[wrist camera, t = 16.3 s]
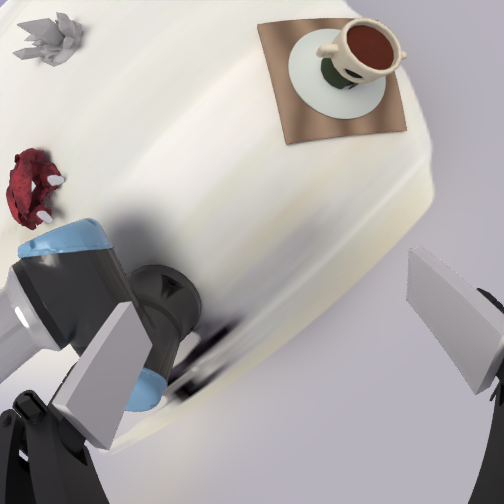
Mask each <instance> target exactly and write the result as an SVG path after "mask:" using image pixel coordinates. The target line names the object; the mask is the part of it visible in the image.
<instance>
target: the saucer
mask: <svg viewBox="0 0 504 504" xmlns="http://www.w3.org/2000/svg"><path fill="white" fill-rule="evenodd" d="M340 31H341V30H337V29H320V30H316V31H313V32H310V33H308V34H306V35H305V36H303V37H302V38H301V39H300V40H299V41H298V42H297V43H296V44H295V46H294V47H293V49H292V51H291V54H290V57H289V61H288V73H289V78H290V81H291V84H292V86H293V88H294V90H295V91H296V93H297V95H298V96H299V97H300V98H301V99H302V100H303V101H304V102H305V103H306V104H307V105H308V106H309V107H311V108H312V109H313V110H315V111H317V112H319V113H321V114H323V115H325V116H328V117H332V118H336V119H352V118H357V117H360V116H363V115H365V114H368V113H369V112H371V111H372V110H373V109H374V108H375V107H376V106H377V105H378V104H379V103H380V101H381V99H382V97H383V95H384V91H385V86H386V78H385V77H381V78H379V79H377V80H375V81H374V82H370V83H363V84H358V85H357V86H355V87H353V88H351V89H348V88H350V87H351V86H352V85H349V86H345V87H344V88H343V89H338V88H336V87H333V86H331V85H330V84H329V83H328V82H327V81H326V80H325V79H324V77H323V74H322V72H321V61H322V59H323V58H320V57H317V55H316V51H317V50H318V48H319V47H320V46H321V45H322V44H332V42H333V40H334V38H335V37H336V36H337V35H338V33H339V32H340Z"/></svg>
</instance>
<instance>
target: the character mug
mask: <svg viewBox="0 0 504 504" xmlns="http://www.w3.org/2000/svg"><path fill="white" fill-rule="evenodd" d="M316 55H317V57H320V58H323V59H322V61H321V72H322V74H323V77H324V79H325V80H326V81H327V82H328V83H329V84H330V85H331V86H333V87H336V88H338V89H343V88H344V87H345V86H349V85H352V86H351V87H350V88H348V89H351V88H353V87H355V86H357V85H358V84H363V83H370V82H374V81H375V80H377V79H379V78H381V77H385V76H386V75H388V74H390V73H392V72H393V71H394V70H396V69H397V68H398V67H399V65H400V63H401V60H403V59H405V58H407V53H406V52H404V51H402V47H401V45H400V43H399V40H398V38H397V37H396V36H395V35H394V33H393V32H392V31H391V30H390V29H389V28H388V27H386V26H385V25H383V24H382V23H380V22H379V21H376V20H373V19H369V18H356V19H354V20H352V21H350V22H349V23H347V24H346V25H345V26H344V27H343V28H342V30H341V31H340V32H339V33H338V35H337V36H336V37H335V38H334V40H333V42H332V44H322V45H321V46H320V47H319V48H318V50H317V51H316Z"/></svg>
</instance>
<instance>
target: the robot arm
mask: <svg viewBox="0 0 504 504" xmlns="http://www.w3.org/2000/svg"><path fill="white" fill-rule="evenodd" d="M113 248H114V247H113V245H112V244H110V242H109V240H108V238H107V236H106V234H105V232H104V230H103V228H102V226H101V225H100V223H99V222H98V221H96V220H94V219H91V218H86V219H82V220H79V221H76V222H73V223H70V224H67V225H65V226H62V227H59V228H57V229H54V230H52V231H50V232H47V233H45V234H43V235H40V236H38V237H37V238H34V239H32V240H30V241H28V242H26V243H24V244H22V245H20V246H19V247H18V257H19V258H21V259H20V260H19V261H18V262H16V263H15V264H14V265H12V266H11V267H10V268H9V272H8V277H7V282H6V284H5V286H4V287H3V288H2V289H0V384H1V382H3V381H4V380H5V379H6V378H7V377H9V376H10V375H11V374H12V373H13V372H14V371H16V370H17V369H18V368H19V367H20V366H21V365H23V364H24V363H25V362H26V361H28V360H29V359H30V358H31V357H33V355H35V354H36V353H37V352H39V351H40V350H41V349H51V350H54V351H61V350H62V349H63V348H64V347H66V346H67V345H68V344H69V343H70V344H71V346H72V347H73V349H74V350H75V351H76V353H77V354H78V355H79V357H80V359H79V361H78V362H76V363H75V364H74V365H73V366H72V367H71V369H70V370H69V372H68V373H67V377H65V378H64V380H63V381H62V382H63V383H61V384H60V386H59V387H58V389H57V391H56V392H55V394H54V395H53V397H52V399H51V400H50V402H49V404H48V405H47V406H46V405H45V404H44V402H43V401H42V400H41V399H40V398H39V397H38V395H37V394H36V393H35V392H34V391H33V390H26V391H24V392H22V393H21V394H20V395H19V396H18V397H17V398H16V399H15V401H14V403H13V408H14V410H15V411H16V412H17V413H18V414H19V415H20V416H21V417H20V416H19V415H18V414H17V413H16V412H15V411H14V410H13V409H8V410H6V411H4V412H3V413H2V414H1V416H0V504H109V501H108V499H107V497H106V495H105V493H104V490H103V488H102V485H101V483H100V481H99V478H98V475H97V473H96V470H95V467H94V465H93V462H92V459H91V456H90V453H89V450H88V449H87V447H86V446H85V445H84V442H85V440H86V439H87V440H88V441H89V442H90V443H91V444H92V445H93V446H94V447H96V448H101V449H105V450H110V447H111V444H112V442H113V439H114V436H115V433H116V431H117V428H118V426H119V423H120V421H121V418H122V416H123V413H124V411H132V412H141V411H147V410H150V409H152V408H154V407H155V406H156V405H157V404H158V403H159V402H160V400H161V397H162V395H163V392H164V391H165V389H166V388H167V383H168V380H169V376H170V373H171V370H172V367H173V363H174V360H175V357H176V354H177V350H178V347H179V344H180V342H181V341H182V340H183V339H184V338H185V337H186V336H187V335H188V334H190V333H191V332H192V331H193V329H194V328H195V326H196V324H197V322H198V319H199V316H200V312H201V301H200V297H199V295H198V292H197V290H196V289H195V287H194V285H193V284H192V283H191V282H190V281H189V280H188V279H187V278H186V277H185V276H184V275H183V274H181V273H180V272H178V271H176V270H174V269H172V268H169V267H166V266H161V265H148V266H144V267H141V268H139V269H137V270H136V271H135V272H133V273H132V275H131V276H130V277H129V278H127V276H126V274H125V273H124V271H123V268H122V266H121V264H120V262H119V260H118V258H117V256H116V254H115V252H114V249H113ZM406 300H407V301H408V302H409V304H410V305H411V306H412V307H413V309H414V310H415V311H416V313H417V314H418V315H419V316H420V318H421V319H422V320H423V321H424V323H425V324H426V325H427V327H428V328H429V329H430V331H431V332H432V333H433V335H434V336H435V337H436V338H437V340H438V341H439V343H440V344H441V345H442V347H443V348H444V350H445V351H446V352H447V354H448V355H449V357H450V358H451V359H452V361H453V362H454V364H455V365H456V366H457V368H458V370H459V371H460V373H461V374H462V376H463V377H464V378H465V380H466V382H467V383H468V385H469V386H470V388H471V389H472V391H473V393H474V394H475V395H477V394H479V393H480V392H482V391H484V390H485V389H487V388H489V387H490V386H491V384H492V382H493V380H494V378H495V376H497V377H498V379H499V380H500V381H499V383H498V385H497V387H496V388H495V390H494V392H493V394H492V395H491V398H490V401H492V400H493V398H494V397H495V395H496V400H495V407H494V413H493V419H492V424H491V430H490V434H489V439H488V443H487V448H486V451H485V455H484V459H483V462H482V465H481V469H480V472H479V476H478V478H477V482H476V484H475V487H474V489H473V492H472V495H471V497H470V500H469V502H468V504H504V307H503V305H502V304H501V303H500V302H499V301H497V299H496V298H494V297H493V296H492V295H491V294H490V293H489V292H486V291H484V290H482V289H480V288H477V289H475V288H474V287H473V286H472V285H470V283H468V282H467V281H466V280H465V279H464V278H462V277H461V276H460V275H459V274H458V273H456V272H455V271H454V270H452V269H451V268H450V267H449V266H448V265H446V264H445V263H444V262H443V261H441V260H440V259H439V258H437V257H436V256H435V255H433V254H432V253H431V252H430V251H428V250H427V249H425V248H424V247H423V246H419V247H415V248H411V249H409V261H408V283H407V297H406ZM19 449H20V450H21V451H22V452H23V453H24V454H25V455H26V456H28V461H25V460H24V459H23V458H22V457H20V456H19Z"/></svg>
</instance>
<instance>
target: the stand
mask: <svg viewBox="0 0 504 504" xmlns="http://www.w3.org/2000/svg"><path fill="white" fill-rule="evenodd" d="M352 20H354V19H352V18H319V19H300V20H288V21H278V22H270V23H263V24H257V29H258V33H259V36H260V40H261V43H262V47H263V51H264V54H265V58H266V62H267V66H268V69H269V73H270V77H271V81H272V85H273V89H274V94H275V98H276V102H277V106H278V111H279V115H280V119H281V124H282V128H283V133H284V138H285V142H286V144H291V143H297V142H303V141H309V140H316V139H323V138H331V137H339V136H347V135H357V134H367V133H379V132H393V131H407V127H406V121H405V116H404V111H403V105H402V101H401V96H400V92H399V87H398V83H397V79H396V75H395V71H393V72H392V73H390V74H388V75H386V76H385V78H386V86H385V91H384V95H383V97H382V99H381V101H380V103H379V104H378V105H377V106H376V107H375V108H374V109H373V110H372V111H371V112H369V113H368V114H365V115H363V116H360V117H357V118H352V119H336V118H332V117H328V116H325V115H323V114H321V113H319V112H317V111H315V110H313V109H312V108H311V107H309V106H308V105H307V104H306V103H305V102H304V101H303V100H302V99H301V98H300V97H299V96H298V95H297V93H296V91H295V90H294V88H293V86H292V84H291V81H290V78H289V73H288V61H289V57H290V54H291V51H292V49H293V47H294V46H295V44H296V43H297V42H298V41H299V40H300V39H301V38H302V37H303V36H305V35H306V34H308V33H310V32H313V31H316V30H320V29H337V30H342V28H343V27H344V26H345V25H346V24H347V23H349V22H350V21H352ZM376 21H378V20H376Z"/></svg>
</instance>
